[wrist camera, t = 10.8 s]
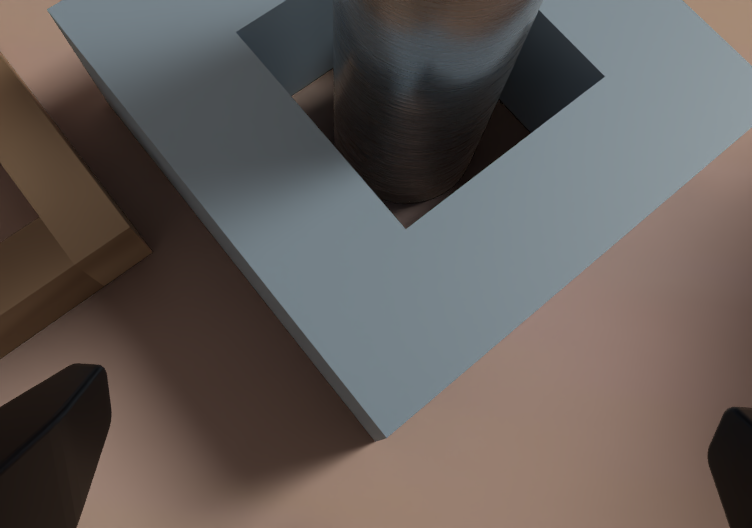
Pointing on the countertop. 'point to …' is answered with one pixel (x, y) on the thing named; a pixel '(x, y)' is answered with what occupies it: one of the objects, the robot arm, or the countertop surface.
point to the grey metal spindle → (420, 86)
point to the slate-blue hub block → (450, 217)
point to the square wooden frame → (53, 221)
